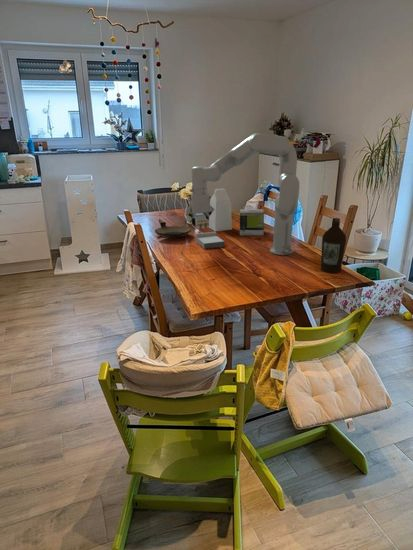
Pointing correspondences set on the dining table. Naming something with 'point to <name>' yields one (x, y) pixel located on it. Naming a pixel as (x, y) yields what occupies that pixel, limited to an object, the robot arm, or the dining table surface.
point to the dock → (209, 240)
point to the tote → (200, 216)
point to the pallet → (201, 223)
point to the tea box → (251, 222)
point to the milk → (220, 211)
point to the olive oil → (333, 248)
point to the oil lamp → (171, 230)
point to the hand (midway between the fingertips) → (200, 224)
